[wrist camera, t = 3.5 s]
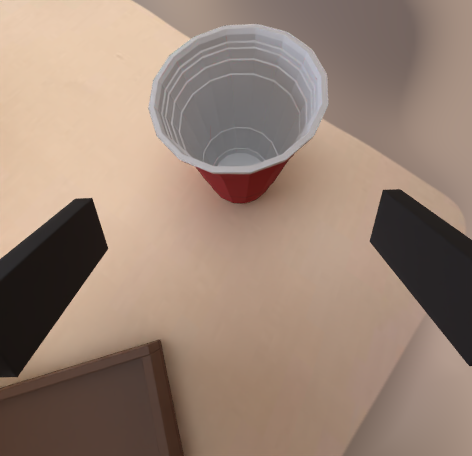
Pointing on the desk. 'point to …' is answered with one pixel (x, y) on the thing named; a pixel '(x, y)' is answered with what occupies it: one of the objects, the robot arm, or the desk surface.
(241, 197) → the plastic cup
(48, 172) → the desk surface
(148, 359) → the tray
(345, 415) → the desk surface
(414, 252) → the robot arm
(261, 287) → the desk surface
